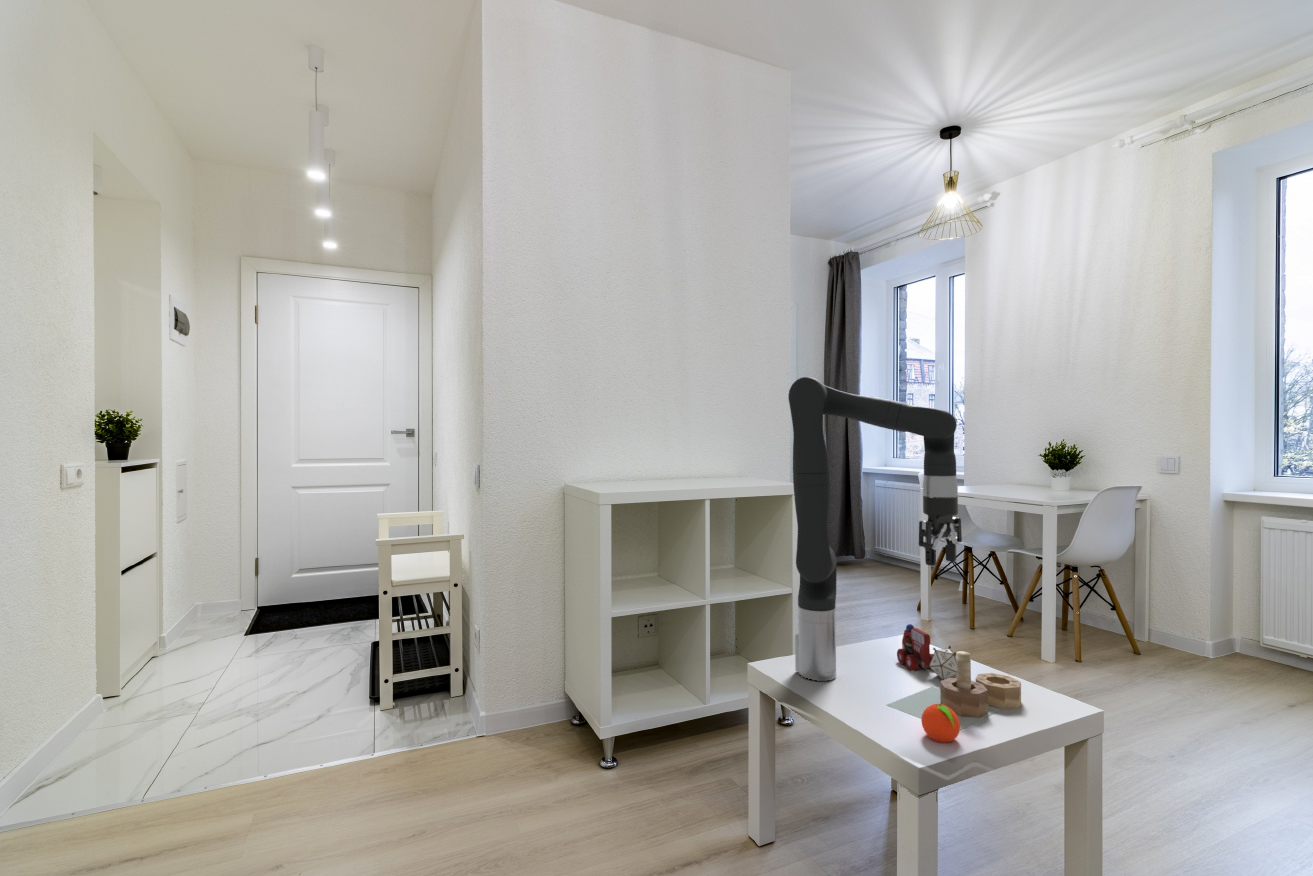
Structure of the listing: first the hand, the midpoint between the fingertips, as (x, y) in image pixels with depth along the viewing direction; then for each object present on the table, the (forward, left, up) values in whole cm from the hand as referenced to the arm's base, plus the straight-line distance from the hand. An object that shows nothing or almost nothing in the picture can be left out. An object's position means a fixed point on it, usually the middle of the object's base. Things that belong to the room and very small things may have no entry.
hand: (940, 563), depth 147 cm
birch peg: (+9, -7, -30) cm, 32 cm away
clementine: (+14, -24, -30) cm, 41 cm away
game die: (-3, +7, -30) cm, 31 cm away
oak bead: (+11, +4, -30) cm, 32 cm away
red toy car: (-13, +10, -30) cm, 35 cm away
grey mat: (+6, -10, -30) cm, 32 cm away
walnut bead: (+9, -7, -30) cm, 32 cm away
